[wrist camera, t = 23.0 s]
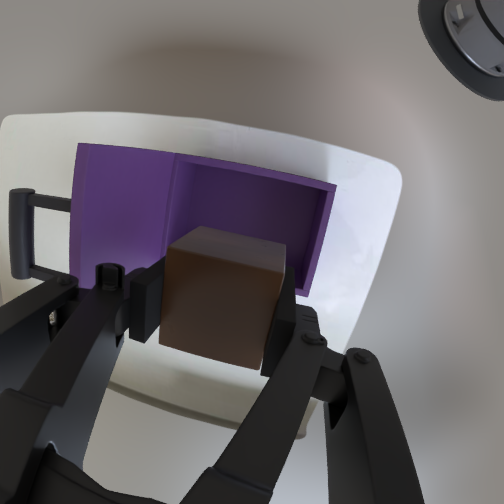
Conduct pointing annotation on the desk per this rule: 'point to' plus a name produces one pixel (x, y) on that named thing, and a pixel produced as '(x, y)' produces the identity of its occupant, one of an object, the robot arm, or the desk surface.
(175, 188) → the purple box
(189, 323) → the block
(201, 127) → the desk surface
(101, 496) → the robot arm
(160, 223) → the purple hinged box lid
